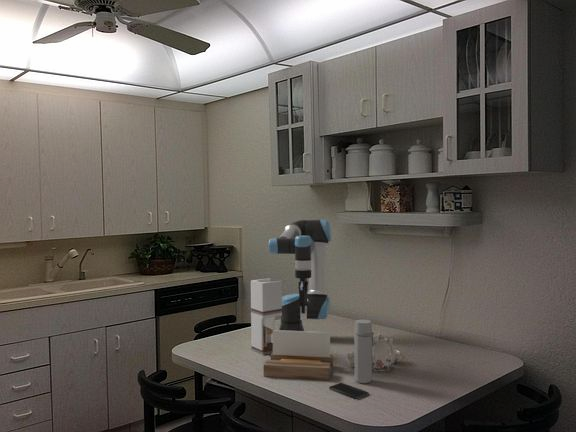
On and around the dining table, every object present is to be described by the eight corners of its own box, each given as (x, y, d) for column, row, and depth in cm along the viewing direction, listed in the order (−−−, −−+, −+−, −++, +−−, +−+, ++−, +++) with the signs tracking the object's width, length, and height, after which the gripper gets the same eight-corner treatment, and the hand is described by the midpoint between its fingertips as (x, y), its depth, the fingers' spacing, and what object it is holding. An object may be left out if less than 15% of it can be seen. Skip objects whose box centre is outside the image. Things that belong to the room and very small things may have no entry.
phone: (356, 398, 193) (327, 387, 205) (356, 401, 193) (327, 389, 205) (370, 392, 198) (341, 382, 210) (370, 395, 199) (341, 385, 210)
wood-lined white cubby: (263, 355, 249) (262, 283, 248) (251, 349, 258) (250, 280, 256) (282, 350, 256) (281, 280, 255) (270, 345, 264) (269, 278, 263)
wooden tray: (272, 362, 237) (272, 352, 237) (333, 366, 232) (333, 355, 232) (263, 376, 220) (263, 364, 219) (328, 380, 214) (328, 368, 214)
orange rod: (280, 364, 232) (280, 358, 233) (322, 367, 229) (322, 360, 229) (278, 365, 229) (279, 358, 230) (321, 368, 226) (321, 360, 226)
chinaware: (394, 361, 243) (392, 326, 244) (415, 368, 227) (413, 330, 228) (341, 369, 233) (339, 332, 234) (359, 377, 217) (357, 337, 218)
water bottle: (358, 385, 208) (358, 324, 207) (351, 378, 216) (351, 319, 215) (379, 382, 211) (379, 322, 210) (371, 376, 218) (371, 318, 217)
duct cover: (272, 354, 233) (273, 354, 234) (329, 357, 228) (330, 356, 229) (272, 330, 233) (273, 330, 234) (329, 332, 228) (330, 332, 229)
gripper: (297, 267, 245) (297, 316, 245) (292, 270, 232) (293, 322, 232) (313, 267, 243) (313, 317, 244) (309, 271, 230) (309, 323, 231)
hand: (303, 319), depth 238 cm, fingers closed
